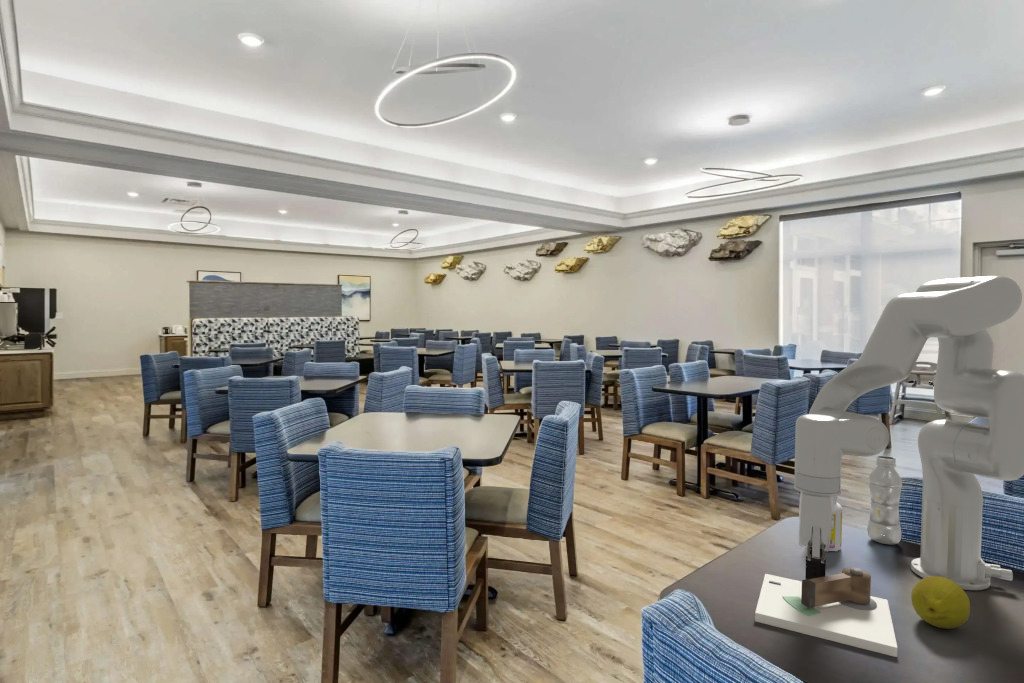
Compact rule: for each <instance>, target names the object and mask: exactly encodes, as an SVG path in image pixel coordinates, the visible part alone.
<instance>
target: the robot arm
mask: <svg viewBox="0 0 1024 683" xmlns="http://www.w3.org/2000/svg"><path fill="white" fill-rule="evenodd" d="M1022 302H1023V292H1022V288H1021V287H1020V286H1019V284H1018V283H1017V282H1016V281H1015V280H1014V279H1012V278H1010V277H1008V276H1004V275H986V276H983V275H982V276H972V277H954V278H953V277H952V278H943V279H942V278H941V279H936V280H930V281H928V282H924V283H923V284H921V285H920V286H918V288H917V290H916V291H915V292H910V293H902V294H899V295H897V296H893V298H891V299H890V300H889V301H888V302H887V304H886V305H885V307H884V308H883V311H882V313H881V315H880V317H879V319H878V321H877V322H876V324H875V327H874V329H873V330H872V333H871V335H870V337H869V338H868V340H867V343H866V344H865V346H864V349H863V350H862V353H861V355H860V356H859V358H858V359H856V360H855V361H854V362H851V364H849V365H848V366H846V367H845V368H843V369H842V370H841V371H839V372H838V373H837V374H835V375H834V376H833V377H832V378H831V379H830V380H828V381H827V382H826V383H825V384H824V385H823V386H822V388H821V389H820V391H819V392H818V393H817V395H816V397H815V399H814V401H813V403H812V405H811V407H810V408H809V409H810V410H809V412H808V414H803V415H799V417H797V418H796V420H795V432H794V434H795V436H794V437H795V440H794V442H795V443H794V445H795V446H794V485H793V486H794V489H795V490H796V491H798V492H800V493H799V508H798V510H799V511H798V512H799V513H798V546H799V547H801V548H803V547H807V552H806V554H807V555H806V556H805V577H804V580H805V579H813V578H819V577H824V576H826V570H827V569H826V568H827V566H826V565H827V563H826V559H825V552H828V550H829V545H830V538H831V529H832V512H833V496H837V497H838V496H840V495H842V461H843V460H842V458H843V456H854V457H855V456H856V457H873V456H877V455H878V454H880V453H882V452H883V451H884V450H885V449H886V448H887V446H888V445H889V442H890V433H889V429H888V428H887V426H886V424H885V423H883V422H882V421H881V420H879V419H878V418H876V417H874V416H869V415H865V414H861V413H855V412H852V411H847V409H848V407H849V406H850V405H851V404H852V403H853V402H854V401H855V400H857V399H858V398H859V397H861V396H862V395H864V394H866V393H869V392H871V391H873V390H874V391H875V390H877V389H881V388H884V387H887V386H891V385H894V384H896V383H899V382H902V381H904V380H906V379H907V378H909V377H910V375H911V374H912V371H913V369H914V367H915V365H916V363H917V361H918V359H919V357H920V355H921V352H922V351H923V349H924V346H925V344H926V342H927V341H928V340H929V339H930V338H937V341H938V353H937V363H936V369H935V377H934V383H933V384H934V386H933V399H934V403H935V405H936V406H937V407H938V408H939V409H941V410H943V411H945V412H947V413H952V414H957V415H962V416H969V417H974V418H980V419H981V418H982V419H986V420H988V421H989V422H988V423H989V426H988V425H983V424H978V423H973V422H966V421H961V420H954V419H935V420H932V421H929V422H927V423H926V424H925V425H923V426H922V427H921V428H920V430H919V432H918V437H917V449H918V452H919V456H920V462H921V472H922V494H921V495H922V498H921V502H922V503H921V528H920V555H919V556H920V557H917V558H914V559H912V560H911V562H910V569H911V571H912V572H913V573H915V574H916V575H917V576H919V577H921V578H922V579H923V578H926V577H929V576H940V577H945V578H947V579H950V580H952V581H953V582H955V583H956V584H958V585H959V586H960V587H961V588H962V589H963V590H964V591H965V590H967V591H984V590H986V589H989V588H990V586H991V578H992V577H993V578H998V579H1002V580H1006V581H1011V582H1012V581H1013V579H1014V573H1013V571H1012V570H1011V569H1008V568H1007V569H1006V568H1001V565H1000V564H993V563H987V562H985V560H983V559H982V556H981V555H982V530H983V508H984V507H983V506H984V495H983V494H984V493H983V491H982V486H981V484H980V482H979V481H978V479H977V476H981V477H985V478H988V479H989V478H991V479H993V480H999V481H1005V482H1009V481H1010V482H1011V481H1016V480H1018V479H1020V478H1022V477H1023V476H1024V373H1022V372H1018V371H1013V370H1005V369H993V357H994V356H993V355H994V342H993V339H992V336H991V335H990V333H989V331H988V330H987V329H989V328H992V327H994V326H997V325H999V324H1002V323H1004V322H1006V321H1007V320H1008V321H1009V319H1011V318H1012V317H1013V316H1015V315H1016V313H1017V312H1018V311H1019V309H1020V308H1021V305H1022ZM976 475H977V476H976Z"/></svg>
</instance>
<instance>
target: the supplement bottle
mask: <svg viewBox="0 0 1024 683" xmlns="http://www.w3.org/2000/svg"><path fill="white" fill-rule="evenodd" d="M837 500H838V496H833V512H832V529H831V538H830V545H829V550H828V551H835V552H839V551H840V550H841V549H842V542H843V541H842V537H843V536H842V535H843V534H842V533H843V527H842V526H843V507H842V505H841V504H840V503H839V502H838V501H837ZM838 550H839V551H838ZM828 551H827V552H828Z"/></svg>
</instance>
